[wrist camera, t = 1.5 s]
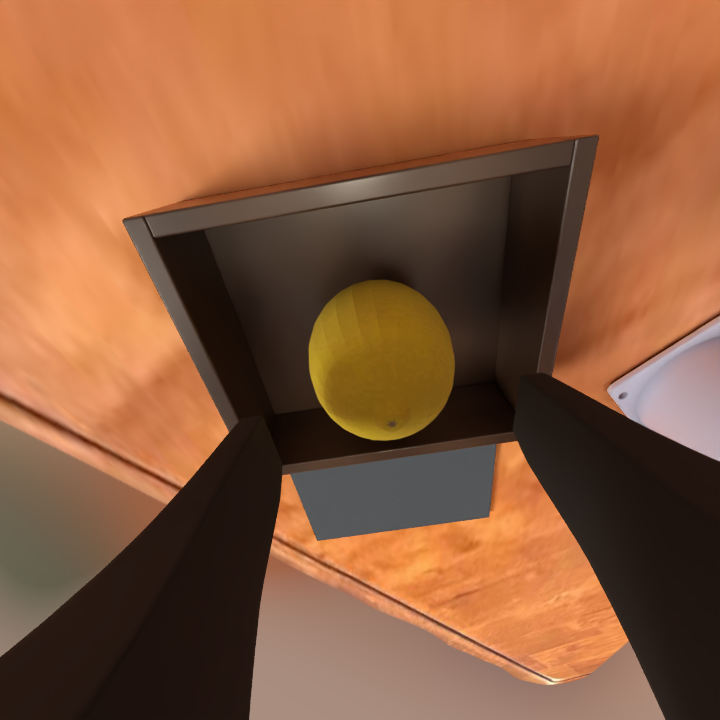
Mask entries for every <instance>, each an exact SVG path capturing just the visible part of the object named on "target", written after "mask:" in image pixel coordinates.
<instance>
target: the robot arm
mask: <svg viewBox="0 0 720 720" xmlns="http://www.w3.org/2000/svg"><path fill="white" fill-rule="evenodd" d="M607 392H608V394H609V395H610V396H611V398H612V399H613V400H614V401H615V403H616V404H617V405H618V406H619V408H620V409H621V410H622V411H623V412H624V414H625V415H626V416H627V417H628V418H627V417H626V416H624V415H622V414H620V413H618V412H616V411H614V410H612V409H610V408H609V407H607V406H605V405H603V404H601V403H599V402H597V401H596V400H594V399H592V398H590V397H588V396H586V395H585V394H583V393H581V392H579V391H577V390H575V389H574V388H572V387H570V386H568V385H566V384H564V383H563V382H561V381H559V380H557V379H555V378H553V377H551V376H549V375H547V374H545V373H543V372H542V373H535V374H529V375H522V376H520V380H519V388H518V395H517V402H516V410H515V417H514V424H513V432H514V434H515V436H516V438H517V441H518V443H519V445H520V447H521V450H522V452H523V454H524V456H525V458H526V460H527V462H528V464H529V465H530V467H531V469H532V470H533V472H534V474H535V475H536V477H537V478H538V480H539V482H540V483H541V485H542V486H543V488H544V490H545V491H546V493H547V494H548V496H549V497H550V499H551V501H552V502H553V504H554V505H555V507H556V508H557V510H558V512H559V513H560V515H561V516H562V518H563V520H564V521H565V523H566V524H567V526H568V527H569V529H570V531H571V532H572V534H573V535H574V537H575V538H576V540H577V542H578V543H579V545H580V547H581V548H582V550H583V552H584V554H585V555H586V557H587V559H588V560H589V562H590V564H591V566H592V568H593V570H594V572H595V574H596V576H597V578H598V580H599V582H600V584H601V586H602V588H603V589H604V591H605V593H606V595H607V597H608V599H609V601H610V603H611V605H612V607H613V609H614V611H615V613H616V615H617V617H618V619H619V621H620V623H621V625H622V627H623V630H624V632H625V634H626V636H627V638H628V640H629V642H630V644H631V646H632V648H633V650H634V652H635V654H636V656H637V658H638V661H639V663H640V665H641V667H642V669H643V671H644V674H645V676H646V678H647V680H648V682H649V684H650V686H651V689H652V691H653V693H654V695H655V697H656V699H657V702H658V704H659V706H660V708H661V710H662V712H663V715H664V717H665V719H666V720H720V316H718V317H716V318H715V319H713V320H712V321H710V322H709V323H707V324H705V325H704V326H702V327H701V328H699V329H698V330H696V331H694V332H693V333H691V334H690V335H688V336H686V337H685V338H683V339H682V340H680V341H679V342H677V343H675V344H674V345H672V346H671V347H669V348H667V349H666V350H664V351H663V352H661V353H660V354H658V355H656V356H655V357H653V358H652V359H650V360H648V361H647V362H645V363H644V364H642V365H641V366H639V367H637V368H636V369H634V370H633V371H631V372H629V373H628V374H626V375H625V376H623V377H622V378H620V379H618V380H617V381H615V382H614V383H612V384H611V385H610V386H609V387H608V389H607ZM282 466H283V463H282V461H281V459H280V456H279V454H278V451H277V449H276V447H275V444H274V442H273V439H272V437H271V434H270V432H269V430H268V427H267V425H266V422H265V420H264V417H263V415H260V416H253V417H247V418H241V419H240V421H239V422H238V423H237V424H236V425H235V426H234V428H233V429H232V430H231V431H230V432H229V434H228V435H227V436H226V437H225V438H224V440H223V441H222V442H221V443H220V445H219V446H218V447H217V448H216V449H215V451H214V452H213V453H212V454H211V455H210V457H209V458H208V459H207V460H206V461H205V463H204V464H203V465H202V466H201V467H200V469H199V470H198V471H197V472H196V473H195V474H194V476H193V477H192V478H191V479H190V480H189V481H188V483H187V484H186V485H185V486H184V487H183V488H182V489H181V490H180V491H179V493H178V494H177V495H176V496H175V497H174V498H173V499H172V500H171V501H170V502H169V503H168V505H167V506H166V507H165V508H164V509H163V510H162V511H161V512H160V513H159V514H158V516H157V517H156V518H155V519H154V520H153V521H152V522H151V523H150V524H149V525H148V526H147V527H146V528H145V529H144V530H143V531H142V532H141V533H140V534H139V535H138V536H137V537H136V538H135V539H134V540H133V541H132V542H131V543H130V544H129V545H128V546H127V547H126V548H125V549H124V550H123V551H122V552H121V553H120V554H119V555H118V556H117V557H116V558H115V559H113V560H112V561H111V562H110V563H109V564H108V565H107V566H106V567H105V568H104V569H103V570H102V571H101V572H100V573H99V574H97V575H96V576H95V577H94V578H93V579H92V580H91V581H89V582H88V583H87V584H86V585H85V586H84V587H83V588H81V589H80V590H79V591H78V592H77V593H76V594H75V595H74V596H72V597H71V598H70V599H69V600H68V601H67V602H66V603H64V604H63V605H62V606H61V607H60V608H59V609H58V610H56V611H55V612H54V613H53V614H52V615H51V616H50V617H48V619H46V620H45V621H44V622H43V623H41V624H40V625H39V626H38V627H37V628H35V629H34V630H33V631H32V632H31V633H29V634H28V635H27V636H26V637H24V638H23V639H22V640H21V641H20V642H18V643H17V644H16V645H15V646H13V647H12V648H11V649H10V650H9V651H7V652H6V653H5V654H4V655H2V656H1V657H0V720H249V713H250V700H251V688H252V678H253V666H254V656H255V646H256V637H257V627H258V618H259V609H260V601H261V595H262V589H263V583H264V578H265V573H266V568H267V563H268V558H269V553H270V548H271V543H272V538H273V533H274V528H275V523H276V518H277V513H278V507H279V502H280V494H281V483H282Z"/></svg>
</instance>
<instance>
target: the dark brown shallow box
mask: <svg viewBox="0 0 720 720" xmlns="http://www.w3.org/2000/svg"><path fill="white" fill-rule="evenodd" d="M598 140H599V135H597V134H595V135H582V136H569V137H556V138H543V139H528V140H522V141H517V142H511V143H506V144H500V145H494V146H489V147H483V148H478V149H472V150H466V151H461V152H455V153H450V154H444V155H438V156H433V157H427V158H422V159H416V160H410V161H405V162H399V163H394V164H388V165H382V166H377V167H371V168H366V169H360V170H354V171H349V172H343V173H338V174H332V175H326V176H321V177H315V178H310V179H304V180H298V181H293V182H287V183H282V184H276V185H270V186H265V187H259V188H254V189H248V190H242V191H237V192H231V193H226V194H220V195H214V196H209V197H203V198H198V199H192V200H186V201H181V202H177V203H174V204H171V205H167V206H164V207H161V208H157V209H154V210H151V211H147V212H144V213H140V214H137V215H134V216H130V217H127V218H124V219H123V223H124V225H125V227H126V229H127V231H128V233H129V235H130V237H131V239H132V241H133V243H134V245H135V247H136V249H137V251H138V253H139V255H140V257H141V259H142V261H143V263H144V265H145V267H146V269H147V271H148V273H149V275H150V277H151V279H152V281H153V283H154V285H155V287H156V289H157V291H158V293H159V295H160V297H161V299H162V300H163V302H164V304H165V306H166V308H167V310H168V312H169V314H170V316H171V318H172V320H173V322H174V324H175V326H176V328H177V330H178V332H179V334H180V336H181V338H182V340H183V342H184V344H185V346H186V348H187V350H188V352H189V354H190V356H191V358H192V360H193V362H194V364H195V366H196V368H197V370H198V372H199V374H200V376H201V378H202V379H203V381H204V383H205V385H206V387H207V389H208V391H209V393H210V395H211V397H212V399H213V401H214V403H215V405H216V407H217V409H218V411H219V413H220V415H221V417H222V419H223V421H224V423H225V425H226V427H227V429H228V431H229V432H230V431H231V430H232V429H233V428H234V426H235V425H236V424H237V423H238V422H239V421H240V419H241V418H247V417H253V416H260V415H263V417H264V420H265V422H266V425H267V427H268V430H269V432H270V434H271V437H272V439H273V442H274V444H275V447H276V449H277V451H278V454H279V456H280V459H281V461H282V463H283V466H282V475H287V474H293V473H300V472H307V471H314V470H321V469H328V468H335V467H341V466H348V465H355V464H362V463H369V462H376V461H383V460H389V459H396V458H403V457H410V456H417V455H424V454H431V453H437V452H444V451H451V450H458V449H465V448H472V447H479V446H486V445H492V444H499V443H506V442H513V441H517V438H516V436H515V434H514V432H513V424H514V417H515V410H516V402H517V395H518V388H519V380H520V376H522V375H529V374H535V373H542V372H543V373H545V374H547V375H549V376H551V377H552V372H553V367H554V362H555V357H556V351H557V346H558V341H559V336H560V331H561V326H562V321H563V316H564V311H565V306H566V301H567V296H568V291H569V286H570V281H571V276H572V271H573V266H574V261H575V256H576V251H577V246H578V240H579V235H580V230H581V225H582V220H583V215H584V210H585V205H586V200H587V195H588V190H589V185H590V180H591V175H592V170H593V165H594V160H595V155H596V150H597V145H598ZM367 280H389V281H394V282H398V283H402V284H404V285H406V286H408V287H410V288H412V289H414V290H416V291H417V292H419V293H420V294H422V295H423V296H424V297H425V298H426V299H427V300H428V301H429V302H430V303H431V304H432V305H433V306H434V307H435V308H436V310H437V311H438V313H439V314H440V316H441V318H442V320H443V321H444V323H445V325H446V327H447V329H448V331H449V334H450V338H451V343H452V348H453V353H454V359H455V370H454V380H453V386H452V390H451V392H450V395H449V397H448V400H447V402H446V404H445V406H444V408H443V409H442V410H441V412H440V413H439V414H438V416H437V417H436V418H435V419H434V420H433V421H432V422H430V423H429V424H428V425H427V426H426V427H424V428H423V429H422V430H420V431H418V432H416V433H414V434H412V435H410V436H407V437H404V438H400V439H395V440H387V441H383V440H371V439H367V438H363V437H359V436H357V435H355V434H353V433H351V432H349V431H347V430H345V429H343V428H342V427H341V426H340V425H339V424H337V423H336V422H335V421H334V420H333V419H332V418H330V416H329V415H328V413H327V412H326V411H325V409H324V408H323V406H322V405H321V403H320V402H319V400H318V397H317V395H316V392H315V389H314V386H313V383H312V380H311V376H310V371H309V343H310V339H311V335H312V331H313V327H314V324H315V322H316V320H317V318H318V317H319V315H320V313H321V312H322V310H323V308H324V307H325V305H326V304H327V303H328V302H329V301H330V300H331V299H332V298H334V297H335V296H336V295H337V294H338V293H339V292H340V291H342V290H344V289H346V288H347V287H349V286H351V285H353V284H356V283H360V282H363V281H367Z"/></svg>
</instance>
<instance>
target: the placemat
mask: <svg viewBox="0 0 720 720" xmlns="http://www.w3.org/2000/svg"><path fill="white" fill-rule="evenodd" d="M495 454H496V444H492V445H486V446H479V447H472V448H465V449H458V450H451V451H444V452H437V453H431V454H424V455H417V456H410V457H403V458H396V459H389V460H383V461H376V462H369V463H362V464H355V465H348V466H341V467H335V468H328V469H321V470H314V471H307V472H300V473H293V474H290V475H291V477H292V480H293V482H294V485H295V487H296V489H297V492H298V494H299V497H300V499H301V502H302V504H303V507H304V509H305V512H306V514H307V517H308V519H309V521H310V524H311V526H312V529H313V531H314V534H315V536H316V539H317V541H319V540H327V539H334V538H341V537H349V536H356V535H363V534H370V533H378V532H385V531H392V530H399V529H407V528H414V527H421V526H428V525H436V524H443V523H450V522H457V521H465V520H472V519H479V518H486V517H489V513H490V503H491V493H492V484H493V474H494V464H495Z"/></svg>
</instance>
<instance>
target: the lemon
mask: <svg viewBox="0 0 720 720" xmlns="http://www.w3.org/2000/svg"><path fill="white" fill-rule="evenodd" d="M454 370H455V359H454V353H453V348H452V343H451V338H450V334H449V331H448V329H447V327H446V325H445V323H444V321H443V320H442V318H441V316H440V314H439V313H438V311H437V310H436V308H435V307H434V306H433V305H432V304H431V303H430V302H429V301H428V300H427V299H426V298H425V297H424V296H423V295H422V294H420V293H419V292H417V291H416V290H414V289H412V288H410V287H408V286H406V285H404V284H402V283H398V282H394V281H389V280H367V281H363V282H360V283H356V284H353V285H351V286H349V287H347V288H346V289H344V290H342V291H340V292H339V293H338V294H337V295H336V296H335V297H334V298H332V299H331V300H330V301H329V302H328V303H327V304H326V305H325V307H324V308H323V310H322V312H321V313H320V315H319V317H318V318H317V320H316V322H315V324H314V327H313V331H312V335H311V339H310V343H309V371H310V376H311V380H312V383H313V386H314V389H315V392H316V395H317V397H318V400H319V402H320V403H321V405H322V406H323V408H324V409H325V411H326V412H327V413H328V415H329V416H330V418H332V419H333V420H334V421H335V422H336V423H337V424H339V425H340V426H341V427H342V428H343V429H345V430H347V431H349V432H351V433H353V434H355V435H357V436H359V437H363V438H367V439H371V440H383V441H387V440H395V439H400V438H404V437H407V436H410V435H412V434H414V433H416V432H418V431H420V430H422V429H423V428H424V427H426V426H427V425H428V424H429V423H430V422H432V421H433V420H434V419H435V418H436V417H437V416H438V414H439V413H440V412H441V410H442V409H443V408H444V406H445V404H446V402H447V400H448V397H449V395H450V392H451V390H452V386H453V380H454Z"/></svg>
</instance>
